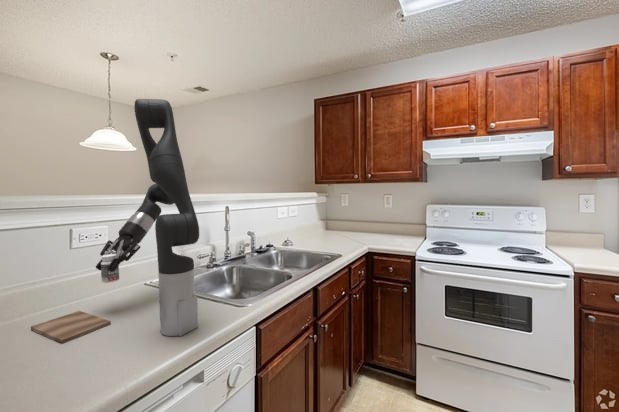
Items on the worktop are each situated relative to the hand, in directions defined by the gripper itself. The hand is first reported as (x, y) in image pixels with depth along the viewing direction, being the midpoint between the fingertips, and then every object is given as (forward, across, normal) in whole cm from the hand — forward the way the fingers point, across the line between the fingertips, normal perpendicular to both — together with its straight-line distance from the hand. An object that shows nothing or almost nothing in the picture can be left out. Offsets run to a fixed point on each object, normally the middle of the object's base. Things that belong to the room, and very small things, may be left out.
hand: (104, 269), depth 91 cm
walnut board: (+17, -1, +4) cm, 17 cm away
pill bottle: (+2, 0, +4) cm, 5 cm away
